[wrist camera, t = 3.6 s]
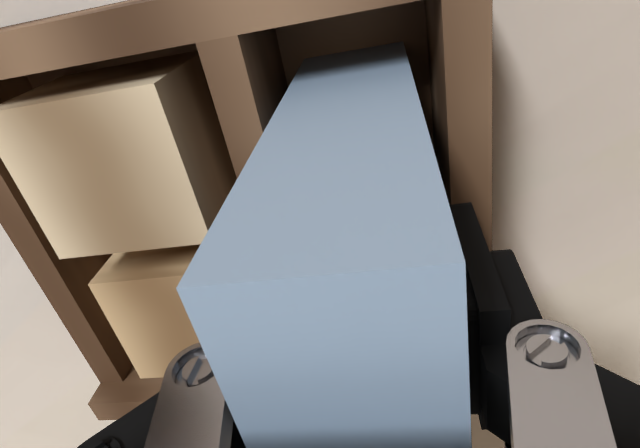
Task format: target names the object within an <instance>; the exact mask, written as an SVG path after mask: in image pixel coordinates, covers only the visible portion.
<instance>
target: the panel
mask: <svg viewBox="0 0 640 448" xmlns="http://www.w3.org/2000/svg"><path fill="white" fill-rule="evenodd" d="M176 289H177V292H178V294H179V296H180V298H181V301H182V303H183V305H184V307H185V310H186V312H187V314H188V317H189V319H190V321H191V323H192V326H193V328H194V330H195V333H196V335H197V337H198V339H199V342H200V344H201V346H202V348H203V351H204V353H205V355H206V358H207V360H208V362H209V364H210V367H211V369H212V371H213V373H214V376H215V378H216V380H217V383H218V385H219V387H220V389H221V392H222V394H223V396H224V399H225V401H226V403H227V405H228V408H229V410H230V412H231V414H232V417H233V419H234V421H235V424H236V426H237V428H238V430H239V433H240V435H241V437H242V439H243V442H244V444H245V446H246V448H472V443H471V413H470V383H469V353H468V323H467V293H466V263H465V259H464V255H463V252H462V248H461V245H460V241H459V238H458V234H457V231H456V227H455V224H454V220H453V216H452V213H451V209H450V206H449V202H448V199H447V195H446V192H445V188H444V185H443V181H442V178H441V174H440V170H439V167H438V163H437V160H436V156H435V153H434V149H433V146H432V142H431V139H430V135H429V132H428V128H427V125H426V121H425V117H424V114H423V110H422V107H421V103H420V100H419V96H418V93H417V89H416V86H415V82H414V79H413V75H412V72H411V68H410V64H409V61H408V57H407V54H406V50H405V47H404V43H403V41H402V42H396V43H391V44H385V45H379V46H374V47H368V48H362V49H356V50H351V51H345V52H339V53H334V54H328V55H322V56H317V57H311V58H305V59H304V60H303V62H302V64H301V66H300V67H299V69H298V71H297V73H296V75H295V76H294V78H293V80H292V82H291V84H290V85H289V87H288V89H287V91H286V93H285V94H284V96H283V98H282V100H281V101H280V103H279V105H278V107H277V109H276V110H275V112H274V114H273V116H272V118H271V119H270V121H269V123H268V125H267V126H266V128H265V130H264V132H263V134H262V135H261V137H260V139H259V141H258V143H257V144H256V146H255V148H254V150H253V152H252V153H251V155H250V157H249V159H248V160H247V162H246V164H245V166H244V168H243V169H242V171H241V173H240V175H239V177H238V178H237V180H236V182H235V184H234V186H233V187H232V189H231V191H230V193H229V194H228V196H227V198H226V200H225V202H224V203H223V205H222V207H221V209H220V211H219V212H218V214H217V216H216V218H215V220H214V221H213V223H212V225H211V227H210V228H209V230H208V232H207V234H206V236H205V237H204V239H203V241H202V243H201V245H200V246H199V248H198V250H197V252H196V253H195V255H194V257H193V259H192V261H191V262H190V264H189V266H188V268H187V270H186V271H185V273H184V275H183V277H182V279H181V280H180V282H179V284H178V286H177V287H176Z"/></svg>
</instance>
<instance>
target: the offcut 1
mask: <svg viewBox="0 0 640 448" xmlns="http://www.w3.org/2000/svg"><path fill="white" fill-rule="evenodd" d="M0 157H1V159H2V161H3V163H4V164H5V166H6V168H7V170H8V171H9V173H10V175H11V176H12V178H13V180H14V182H15V183H16V185H17V187H18V189H19V190H20V192H21V194H22V195H23V197H24V199H25V201H26V202H27V204H28V206H29V208H30V209H31V211H32V213H33V214H34V216H35V218H36V220H37V221H38V223H39V225H40V227H41V228H42V230H43V232H44V233H45V235H46V237H47V239H48V240H49V242H50V244H51V246H52V247H53V249H54V251H55V252H56V254H57V256H58V258H59V259H66V258H76V257H85V256H95V255H104V254H113V253H123V252H132V251H141V250H151V249H160V248H169V247H179V246H188V245H198V244H201V243H202V241H203V239H204V237H205V236H206V234H207V232H208V230H209V228H210V227H211V225H212V223H213V221H214V220H215V218H216V216H217V214H218V212H219V211H220V209H221V207H222V205H223V203H224V202H225V200H226V198H227V196H228V194H229V193H230V191H231V189H232V187H233V186H234V184H235V182H236V180H237V177H236V174H235V171H234V167H233V164H232V161H231V158H230V154H229V151H228V148H227V145H226V141H225V138H224V135H223V132H222V128H221V125H220V122H219V119H218V115H217V112H216V109H215V106H214V102H213V99H212V96H211V93H210V89H209V86H208V83H207V80H206V76H205V73H204V70H203V66H202V63H201V60H200V57H199V53H198V50H196V51H191V52H185V53H180V54H175V55H169V56H164V57H159V58H153V59H148V60H143V61H137V62H132V63H127V64H121V65H116V66H110V67H105V68H100V69H94V70H89V71H84V72H78V73H73V74H68V75H63V76H61V77H59V78H56V79H54V80H52V81H50V82H48V83H45V84H43V85H41V86H39V87H36V88H34V89H32V90H30V91H28V92H25V93H23V94H21V95H19V96H16V97H14V98H12V99H10V100H8V101H5V102H3V103H1V104H0Z"/></svg>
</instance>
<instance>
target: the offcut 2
mask: <svg viewBox="0 0 640 448" xmlns="http://www.w3.org/2000/svg"><path fill="white" fill-rule="evenodd" d="M200 245H201V244H198V245H188V246H179V247H169V248H160V249H151V250H141V251H132V252H123V253H113V254H112V256H111V257H110V258H109V259H108V260H107V262H106V263H105V264H104V265H103V267H102V268H101V269H100V270H99V271H98V273H97V274H96V275H95V276H94V278H93V279H92V280H91V281H90V282H89V284H88V286H89V287H90V289H91V291H92V293H93V295H94V296H95V298H96V300H97V302H98V304H99V305H100V307H101V309H102V311H103V312H104V314H105V316H106V318H107V320H108V321H109V323H110V325H111V327H112V329H113V330H114V332H115V334H116V336H117V337H118V339H119V341H120V343H121V345H122V346H123V348H124V350H125V352H126V354H127V355H128V357H129V359H130V361H131V362H132V364H133V366H134V368H135V370H136V371H137V373H138V375H139V377H140V379H141V378H160V377H164V374H165V371H166V369H167V366H168V364H169V363H170V362H171V360H172V359H173V358H174V357H175V356H176V355H177V354H178V353H179V352H181V351H182V350H183V349H185V348H187V347H189V346H191V345H193V344H196V343H199V339H198V337H197V335H196V333H195V330H194V328H193V326H192V323H191V321H190V319H189V317H188V314H187V312H186V310H185V307H184V305H183V303H182V301H181V298H180V296H179V294H178V292H177V289H176V287H177V286H178V284H179V282H180V280H181V279H182V277H183V275H184V273H185V271H186V270H187V268H188V266H189V264H190V262H191V261H192V259H193V257H194V255H195V253H196V252H197V250H198V248H199V246H200Z"/></svg>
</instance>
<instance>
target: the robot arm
mask: <svg viewBox="0 0 640 448" xmlns="http://www.w3.org/2000/svg"><path fill="white" fill-rule="evenodd" d="M449 206H450V209H451V213H452V216H453V220H454V224H455V227H456V231H457V234H458V238H459V241H460V245H461V248H462V252H463V255H464V259H465V263H466V293H467V323H468V353H469V383H470V413H471V414H478V415H479V420H480V424H481V429H482V430H484V429H487V430H489V431H490V432H492V433H493V434H495V435H496V436H497V437H499V438H500V439H502V440H503V441H504V448H640V386H639V385H637V384H635V383H633V382H631V381H629V380H627V379H625V378H623V377H621V376H619V375H617V374H615V373H613V372H611V371H609V370H607V369H605V368H602V367H600V366H598V365H596V364H594V360H593V357H592V353H591V349H590V347H589V345H588V343H587V341H586V339H585V338H584V337H583V336H582V335H581V334H580V333H579V332H578V331H576V330H575V329H573V328H571V327H570V326H568V325H566V324H563V323H560V322H557V321H553V320H546V319H542V316H541V314H540V312H539V310H538V307H537V305H536V303H535V301H534V298H533V296H532V294H531V292H530V289H529V287H528V285H527V283H526V280H525V278H524V276H523V273H522V271H521V269H520V267H519V264H518V262H517V260H516V258H515V255H514V253H513V252H512V250H510V249H509V250H498V251H489V249H488V246H487V243H486V240H485V238H484V235H483V232H482V230H481V227H480V224H479V221H478V219H477V216H476V213H475V211H474V208H473V205H472V203H471V202H468V203H459V204H450V205H449ZM77 448H246V446H245V444H244V442H243V439H242V437H241V435H240V433H239V430H238V428H237V426H236V424H235V421H234V419H233V417H232V414H231V412H230V410H229V408H228V405H227V403H226V401H225V399H224V396H223V394H222V392H221V389H220V387H219V385H218V383H217V380H216V378H215V376H214V373H213V371H212V369H211V367H210V364H209V362H208V360H207V358H206V355H205V353H204V351H203V348H202V346H201V344H200V342H199V343H196V344H193V345H191V346H189V347H187V348H185V349H183V350H182V351H181V352H179V353H178V354H177V355H176V356H175V357H174V358H173V359H172V360H171V362H170V363H169V364H168V366H167V369H166V371H165V374H164V377H163V381H162V385H161V388H160V392H158V393H157V394H155V395H154V396H152V397H151V398H149V399H148V400H146V401H145V402H143V403H142V404H140V405H139V406H137V407H136V408H134V409H133V410H131V411H130V412H128V413H127V414H125V415H124V416H122V417H121V418H119V419H118V420H116V421H115V422H113V423H112V424H110V425H109V426H107V427H106V428H104V429H103V430H101V431H100V432H98V433H97V434H95V435H94V436H92V437H91V438H89V439H88V440H86V441H85V442H84V443H82V444H81V445H80V446H79V447H77Z"/></svg>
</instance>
